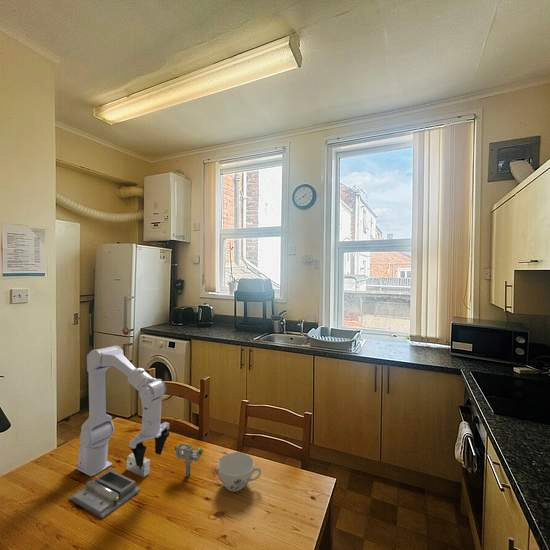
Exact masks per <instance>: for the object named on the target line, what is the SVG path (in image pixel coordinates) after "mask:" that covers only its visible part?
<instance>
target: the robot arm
mask: <svg viewBox="0 0 550 550" xmlns="http://www.w3.org/2000/svg"><path fill="white" fill-rule="evenodd" d="M110 367H114V368H116V369H118V371H120V372H121V373H123V374H124V375H125V376H127V382H128V383H129V384H130V385H131V386H132V387H133V388H135V390H137V391H138V392H139V393H138V394H139V397H140V400H141V407H142V418H141V431H140V432H139V433H138V434H137V435H136V436H134V437H133V438H132V439H131V440H129V445H128V446H129V449H130V450H131V453H133V454H134V457H135V460H136V465H137V466H139V467H142V466H143V461H144V457H145V453H146V451H147V446H145V445H144V442H146V441H148V440H152V439H154V444H155V445H154V450H155V451H154V453H155V454H156V455H158V456H161V455H162V453H163V449H164V447H165V443H166V441H167V439H168V437H169V435H170V431H169V429H170V423H169V422H167V421H164V422H162V423H161V421H162V420H161V417H162V402H163V401H162V400H163V399H162V397H164V395H165V394H166V392H167V386H166V383H165V381H163V380H162V379H161V378H156V377H155V378H154V377H152V376H151V375H150V374H149V373H148V372H147V371H146V370H145V369H144V368H143V367H135V365H134V364H133V363H132V362H130V361H129V359H128V358H127V357H126V356H125V354H124V350H123V348H121V347H120V346H119V345H112V346H108V347H104V348H99V349H98V348H97V349H92V350H90V351H89V353H87V355H86V371H87V372H88V409H89V412H88V414H89V415H88V418H87V419H86V420H85V421H84V422H83V423H82V425H81V431H80V433H79V442H80V446H79V450H78V465H76V466H75V470H78V471H79V472H82V473H83V474H86V475H87V476H88V477H94V476H96V475H97V474H99V473H101V472H102V471H104V470H105V469H108V468H109V467H111V466H112V465H113V462H111V461H109V460H108V453H109V451H108V450H109V449H108V448H109V441H110V440H111V437H112V436H113V434H114V432H115V425H114V423H113V417H112V416H111V415H109V414H107V405H106V404H107V402H106V401H107V398H106V395H107V394H106V392H107V391H106V390H107V389H106V372H107V371H108V369H109V368H110Z"/></svg>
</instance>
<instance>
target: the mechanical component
mask: <svg viewBox="0 0 550 550" xmlns="http://www.w3.org/2000/svg"><path fill="white" fill-rule="evenodd" d="M174 451H175V456H176V458H177V459H179V460H184V464H185V475H184V476H185V477H188V478H189V477H190V475H191V464H192V463H193V462H197V461H198V460H199V459H200V458H201V457H202V455H203V453H204V449H202V447H198V449H197V450H195V448H194V445H192V444H186V443H179V444H177V445H176V444H175V447H174Z"/></svg>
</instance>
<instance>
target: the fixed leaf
mask: <svg viewBox="0 0 550 550" xmlns="http://www.w3.org/2000/svg"><path fill="white" fill-rule="evenodd" d="M140 492H141V488H140V487H139V486H137V484H136V481H135V480H133V479H131V478H129V477H128V476H125V475H123V474H120V473H118V472H117V471H115V470H112V469H109V470H108V471H106V472H105V473H102V474H101V475H99V476H98V477H96V478H94V480H93V479H90V480H89V481H87V482H86V484H85V486H84V487H82V488H81V489H80V490H78V491H76V492H75V493H73V494H72V495H70V496H69V499H68V500H69V501H72V502H73V503H74V504H76V505H78V506H80V507H81V508H83V509H84V510H86V511H87V512H90V513H92V515H94V516H96V517H98V518H100V519H102V520H103V519H104V518H106V517H107V516H108V515H110V514H111V513H113V512H114V511H115V510H116V509H118V508H119V507H121V506H122V505H123V504H125V503H126V502H128V501H129V500H130V499H132V498H133V497H134V496H136V495H137V494H139V493H140Z"/></svg>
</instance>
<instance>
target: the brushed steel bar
mask: <svg viewBox="0 0 550 550" xmlns="http://www.w3.org/2000/svg"><path fill="white" fill-rule="evenodd" d="M126 470H127V471H130V472H131V473H134V474H135V475H138V476H140V477H142V478H145V477H147V476H148V475H150V472H151V471H150V470H151V459H149V458H147V457H146V456H144V461H143V466H142V467H139V466H137V465H136V460H135V457H134V454H133V452H131V453H130V454H128V455H127V457H126Z"/></svg>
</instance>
